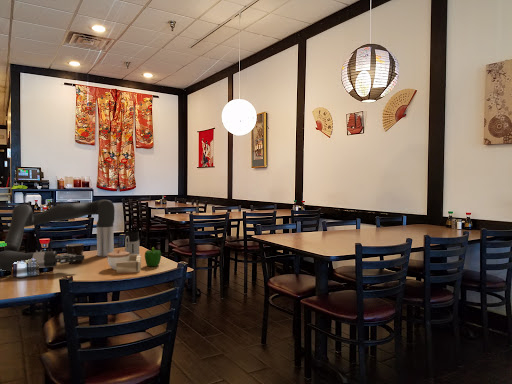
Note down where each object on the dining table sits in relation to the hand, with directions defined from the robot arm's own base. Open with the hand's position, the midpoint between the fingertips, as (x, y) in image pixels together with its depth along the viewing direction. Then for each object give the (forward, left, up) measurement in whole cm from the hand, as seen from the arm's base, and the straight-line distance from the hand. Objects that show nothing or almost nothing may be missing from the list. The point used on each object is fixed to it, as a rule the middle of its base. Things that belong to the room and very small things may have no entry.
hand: (84, 257), depth 186 cm
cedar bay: (-1, +21, -7) cm, 22 cm away
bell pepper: (-3, +33, -7) cm, 34 cm away
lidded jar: (-2, +16, -7) cm, 17 cm away
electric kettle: (-25, +21, -7) cm, 33 cm away
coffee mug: (-20, -8, -7) cm, 23 cm away
